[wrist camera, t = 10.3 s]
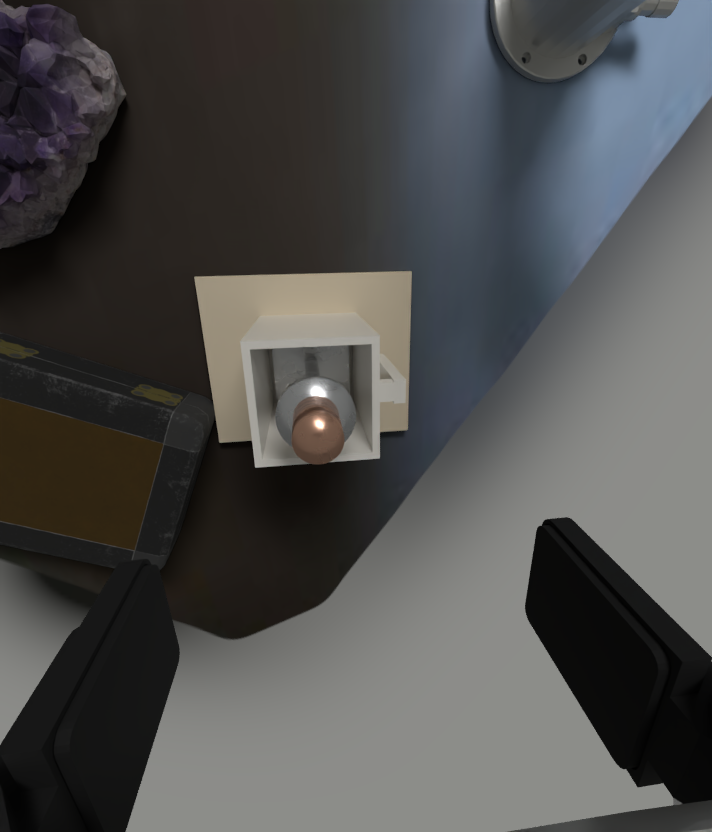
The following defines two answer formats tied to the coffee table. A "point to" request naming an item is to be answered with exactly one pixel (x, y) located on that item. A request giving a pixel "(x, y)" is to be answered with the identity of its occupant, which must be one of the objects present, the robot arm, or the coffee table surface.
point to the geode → (48, 116)
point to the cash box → (94, 457)
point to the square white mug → (306, 327)
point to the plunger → (314, 400)
